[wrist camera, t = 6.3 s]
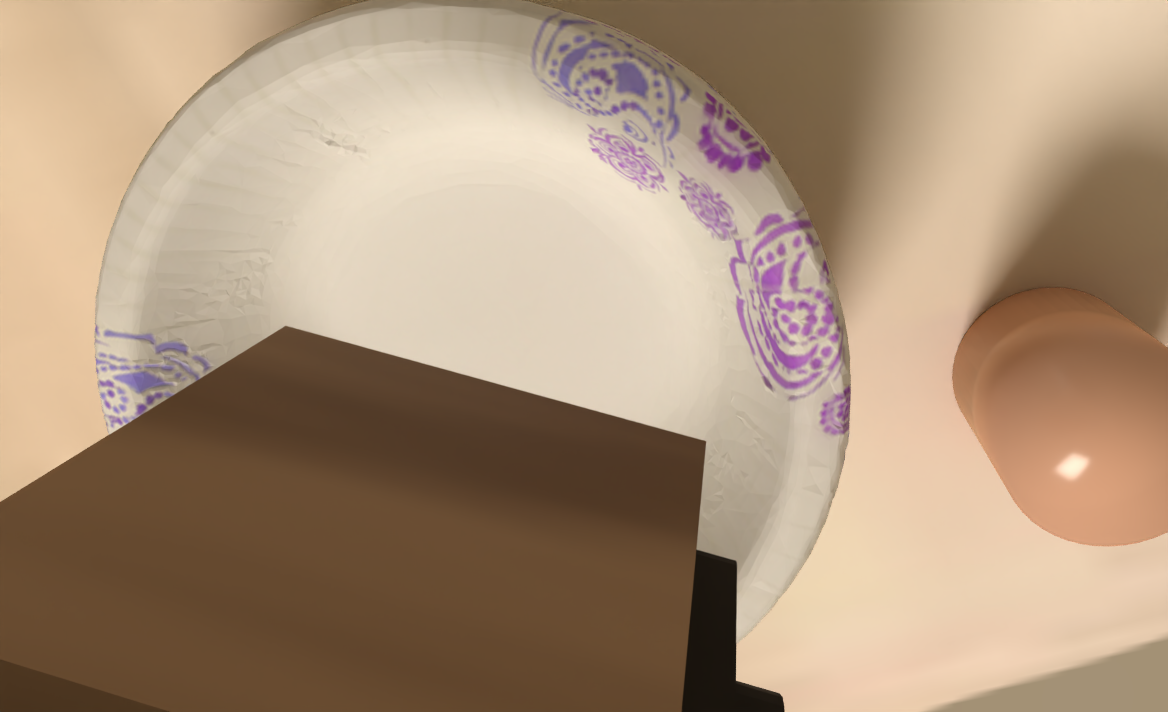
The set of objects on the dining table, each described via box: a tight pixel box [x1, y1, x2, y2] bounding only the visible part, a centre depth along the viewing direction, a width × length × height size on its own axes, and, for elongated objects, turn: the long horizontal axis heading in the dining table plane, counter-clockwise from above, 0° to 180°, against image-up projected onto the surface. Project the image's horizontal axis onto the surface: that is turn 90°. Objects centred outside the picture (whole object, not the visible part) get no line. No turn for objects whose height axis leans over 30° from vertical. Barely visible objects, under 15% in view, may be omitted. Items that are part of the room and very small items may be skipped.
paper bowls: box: [95, 0, 851, 644], centre depth 23 cm, size 15×15×8 cm
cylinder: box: [952, 287, 1168, 546], centre depth 22 cm, size 4×4×5 cm
